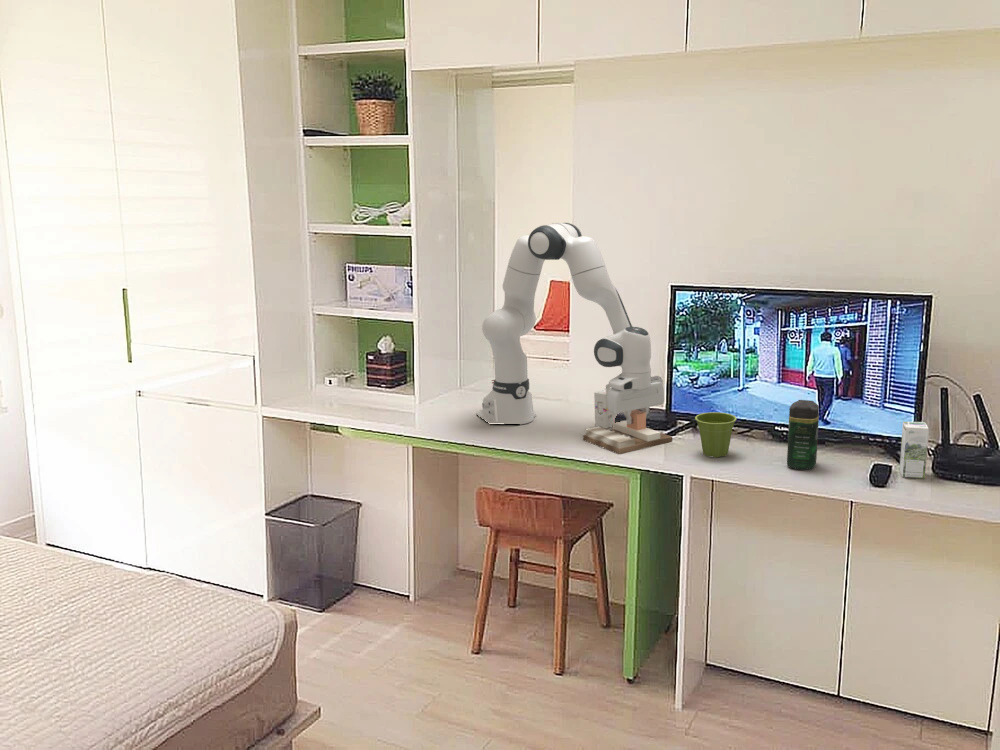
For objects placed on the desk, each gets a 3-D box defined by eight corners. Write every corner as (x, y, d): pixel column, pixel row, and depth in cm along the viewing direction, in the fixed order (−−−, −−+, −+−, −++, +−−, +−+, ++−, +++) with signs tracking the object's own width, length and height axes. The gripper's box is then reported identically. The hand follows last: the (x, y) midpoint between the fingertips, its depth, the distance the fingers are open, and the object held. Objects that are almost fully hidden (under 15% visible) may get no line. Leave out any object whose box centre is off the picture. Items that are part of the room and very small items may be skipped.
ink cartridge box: (607, 420, 316) (607, 378, 313) (620, 422, 313) (620, 379, 310) (594, 426, 310) (593, 383, 306) (607, 428, 307) (606, 385, 303)
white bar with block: (613, 429, 301) (613, 407, 299) (625, 426, 303) (625, 405, 302) (647, 441, 286) (647, 419, 285) (660, 438, 289) (660, 416, 287)
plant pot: (692, 448, 284) (692, 412, 281) (731, 447, 283) (732, 411, 280) (697, 460, 272) (698, 423, 270) (739, 460, 272) (740, 422, 269)
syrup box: (921, 472, 257) (925, 421, 253) (925, 479, 251) (929, 427, 248) (899, 471, 258) (902, 420, 255) (902, 478, 253) (905, 426, 249)
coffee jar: (814, 472, 259) (817, 407, 255) (784, 469, 263) (787, 405, 258) (818, 461, 268) (821, 398, 264) (789, 459, 271) (791, 396, 267)
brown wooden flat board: (583, 439, 296) (583, 429, 295) (635, 428, 306) (635, 417, 305) (619, 454, 281) (618, 442, 280) (672, 441, 291) (672, 430, 290)
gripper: (655, 372, 299) (655, 414, 302) (604, 382, 288) (604, 425, 292) (669, 376, 293) (668, 419, 296) (616, 386, 283) (617, 430, 286)
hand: (636, 422), depth 294 cm, fingers closed on white bar with block, 3 cm apart
